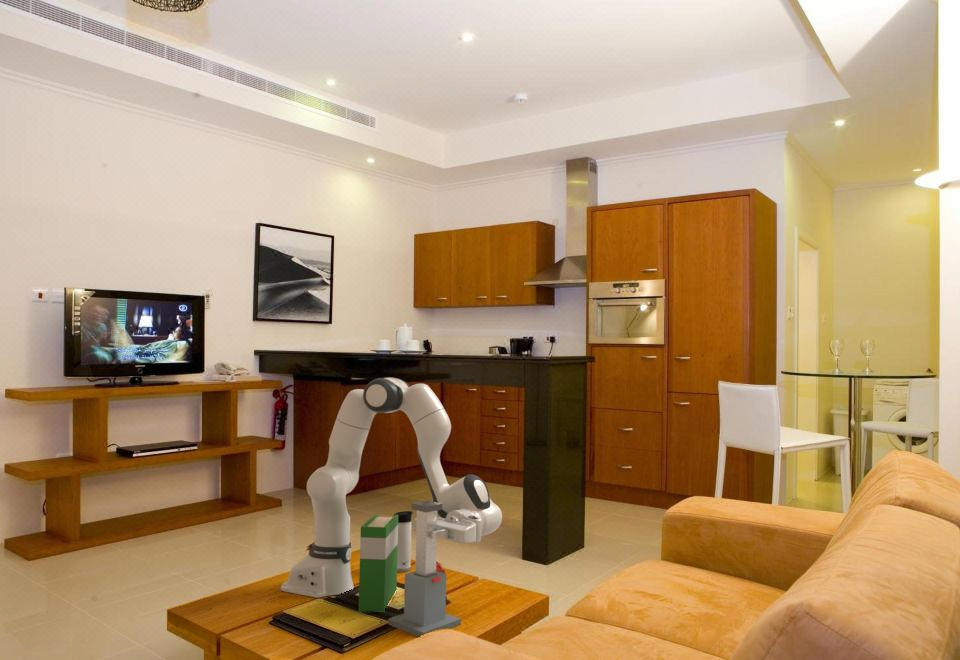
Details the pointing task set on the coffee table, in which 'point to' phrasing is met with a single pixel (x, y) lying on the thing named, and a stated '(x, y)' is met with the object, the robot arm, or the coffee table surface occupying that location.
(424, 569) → the steel column
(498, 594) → the coffee table surface
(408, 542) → the travel mug
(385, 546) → the hardback book
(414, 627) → the stand sleeve
